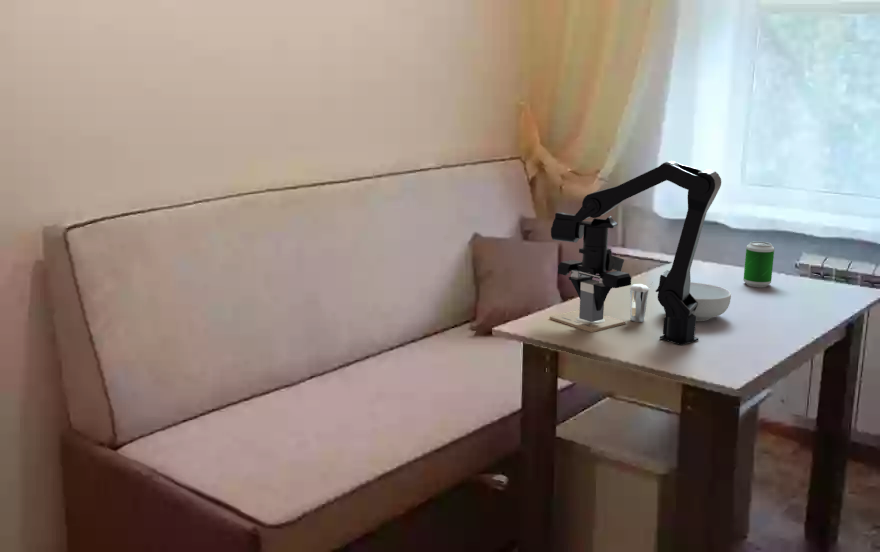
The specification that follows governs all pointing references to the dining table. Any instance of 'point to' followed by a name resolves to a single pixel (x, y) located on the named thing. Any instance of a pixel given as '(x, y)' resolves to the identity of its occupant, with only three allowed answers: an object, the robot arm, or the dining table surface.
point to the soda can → (758, 264)
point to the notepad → (575, 321)
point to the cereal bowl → (709, 300)
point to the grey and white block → (589, 302)
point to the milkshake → (638, 302)
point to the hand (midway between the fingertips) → (591, 308)
